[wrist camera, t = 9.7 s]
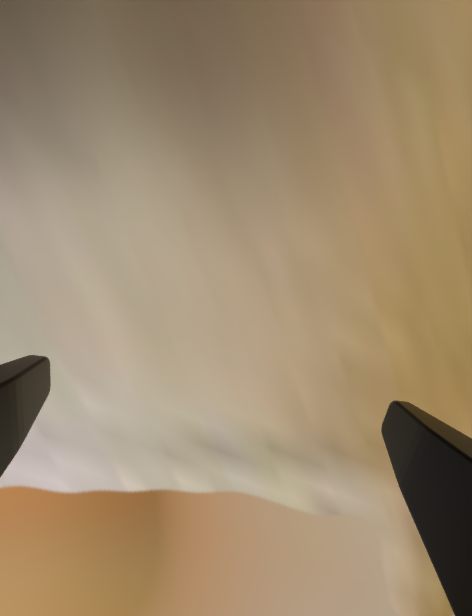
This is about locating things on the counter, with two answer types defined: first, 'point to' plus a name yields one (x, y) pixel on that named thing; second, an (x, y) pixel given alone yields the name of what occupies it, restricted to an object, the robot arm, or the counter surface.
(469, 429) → the counter surface
